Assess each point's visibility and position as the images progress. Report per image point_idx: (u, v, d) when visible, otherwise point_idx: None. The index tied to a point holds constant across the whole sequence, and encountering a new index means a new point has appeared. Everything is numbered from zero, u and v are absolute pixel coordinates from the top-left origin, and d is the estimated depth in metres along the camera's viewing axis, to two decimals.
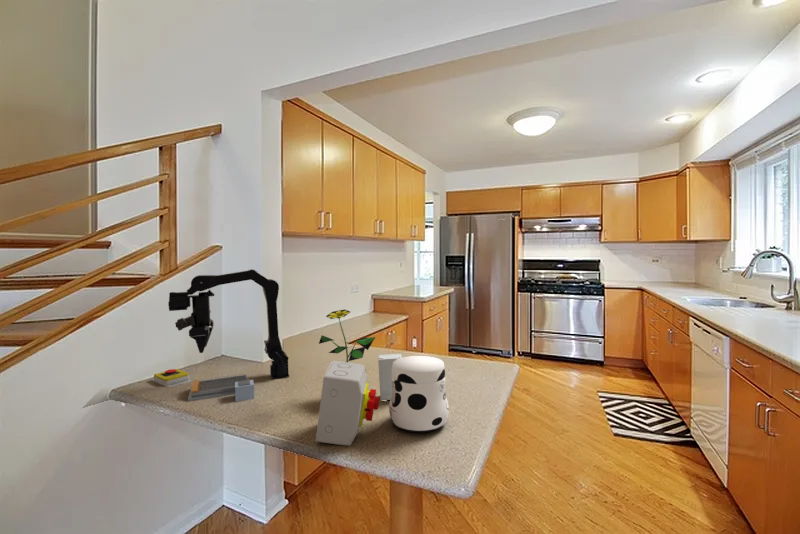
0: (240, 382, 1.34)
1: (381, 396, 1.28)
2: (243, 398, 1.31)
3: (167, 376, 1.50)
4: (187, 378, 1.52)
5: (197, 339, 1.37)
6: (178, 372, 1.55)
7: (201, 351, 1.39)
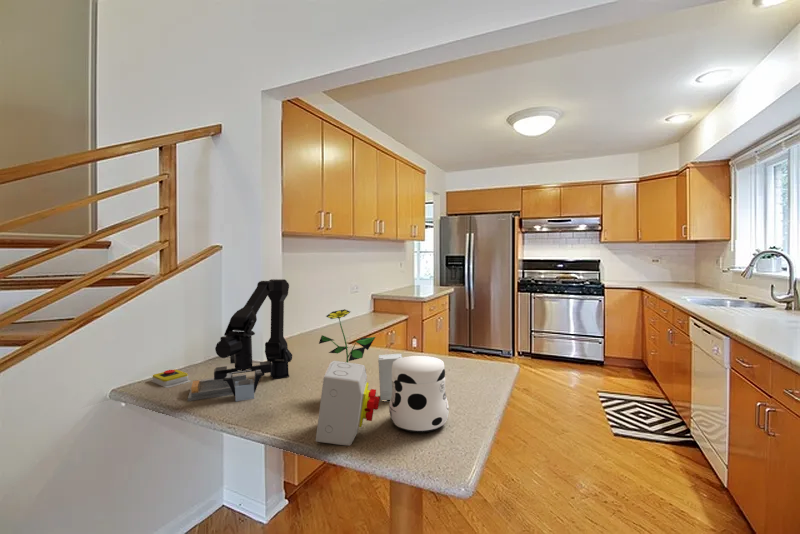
0: (240, 382, 1.34)
1: (381, 396, 1.28)
2: (243, 398, 1.31)
3: (166, 377, 1.49)
4: (186, 378, 1.52)
5: None
6: (177, 372, 1.54)
7: None
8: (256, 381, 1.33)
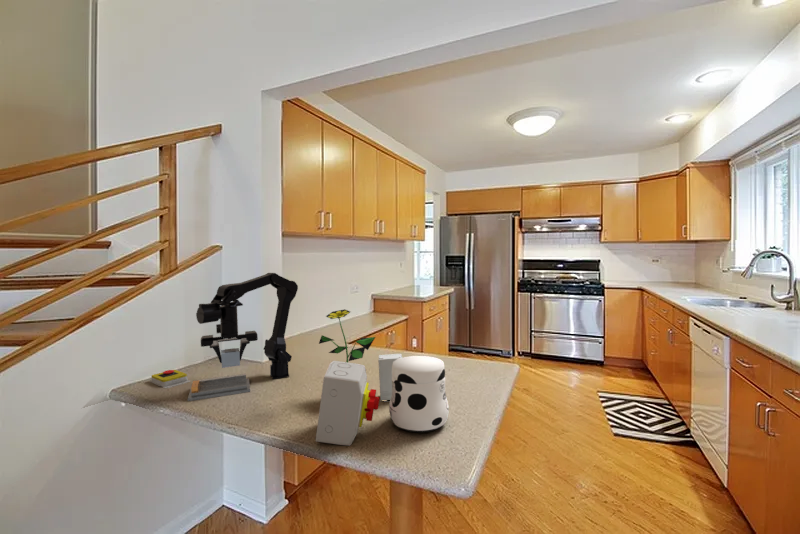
0: (226, 350, 1.40)
1: (381, 396, 1.28)
2: (229, 364, 1.37)
3: (165, 377, 1.49)
4: (185, 379, 1.51)
5: None
6: (176, 372, 1.54)
7: None
8: (242, 349, 1.39)
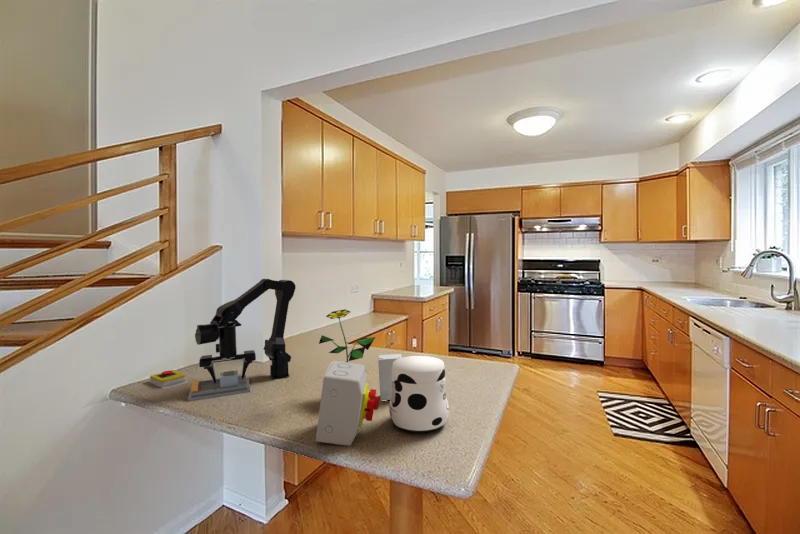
0: (225, 372, 1.41)
1: (381, 396, 1.28)
2: None
3: (163, 377, 1.48)
4: (184, 379, 1.51)
5: None
6: (174, 373, 1.53)
7: (214, 381, 1.39)
8: (244, 368, 1.41)
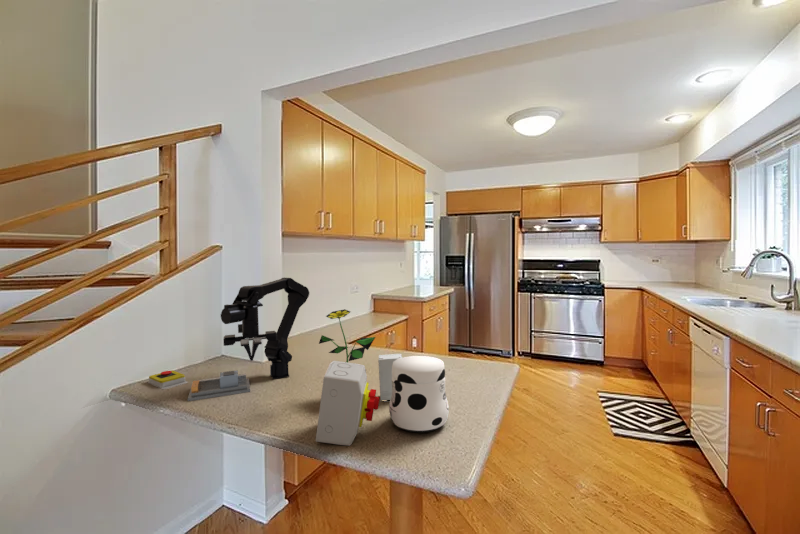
0: (225, 372, 1.41)
1: (381, 396, 1.28)
2: None
3: (162, 378, 1.48)
4: (183, 380, 1.50)
5: None
6: (173, 373, 1.53)
7: (250, 359, 1.44)
8: (254, 349, 1.42)
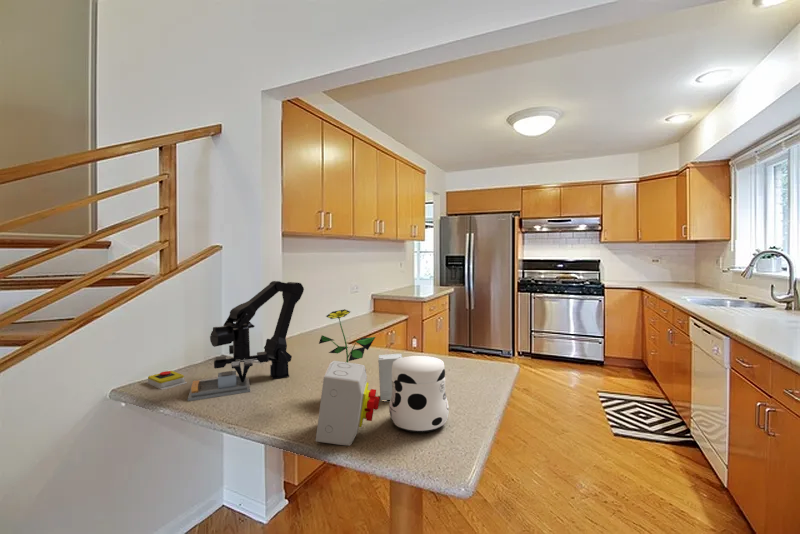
0: (223, 373, 1.41)
1: (381, 396, 1.28)
2: None
3: (161, 378, 1.47)
4: (182, 380, 1.50)
5: None
6: (173, 374, 1.53)
7: (241, 381, 1.43)
8: (245, 371, 1.41)
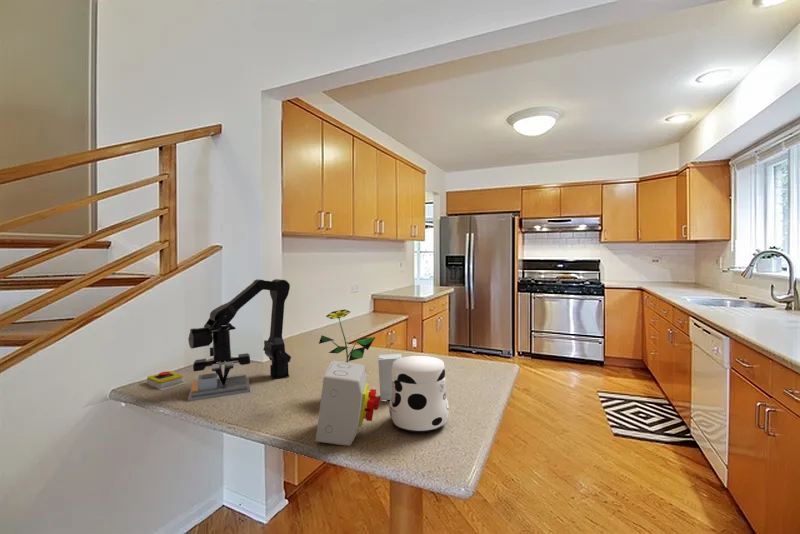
0: (204, 375, 1.39)
1: (381, 396, 1.28)
2: None
3: (161, 378, 1.47)
4: (181, 380, 1.50)
5: None
6: (172, 374, 1.52)
7: (222, 383, 1.40)
8: (225, 374, 1.39)
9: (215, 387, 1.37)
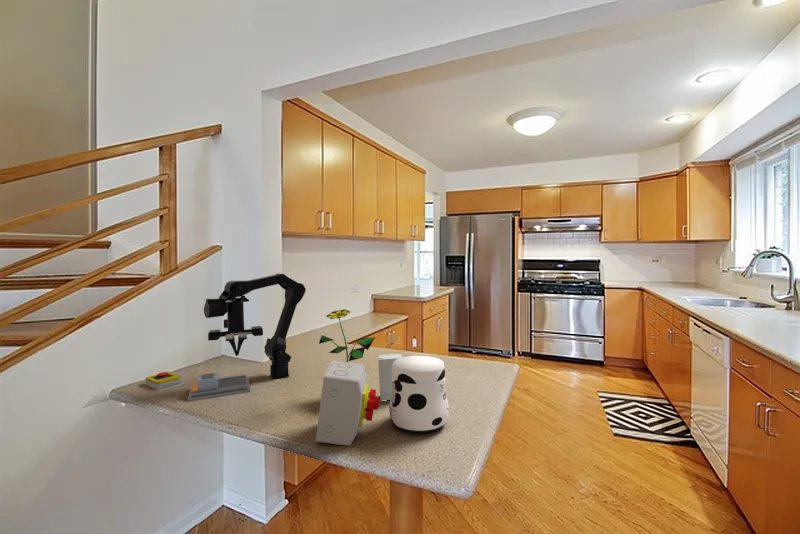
0: (204, 375, 1.39)
1: (381, 396, 1.28)
2: None
3: (159, 379, 1.46)
4: (180, 381, 1.49)
5: None
6: (170, 374, 1.52)
7: (235, 354, 1.43)
8: (239, 344, 1.42)
9: (215, 387, 1.37)
